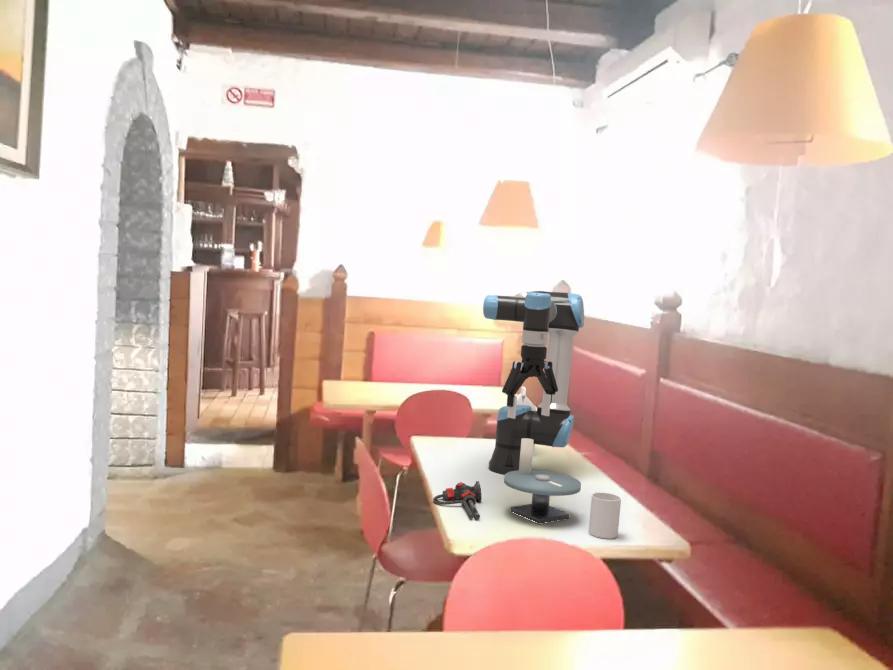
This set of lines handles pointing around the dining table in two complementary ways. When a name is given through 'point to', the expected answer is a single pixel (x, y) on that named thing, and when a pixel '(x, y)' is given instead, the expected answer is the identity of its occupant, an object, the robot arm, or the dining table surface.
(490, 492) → the dining table surface
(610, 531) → the mug
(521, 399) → the milk
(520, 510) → the square pedestal base
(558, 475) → the handwheel
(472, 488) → the dark grey forked tool
